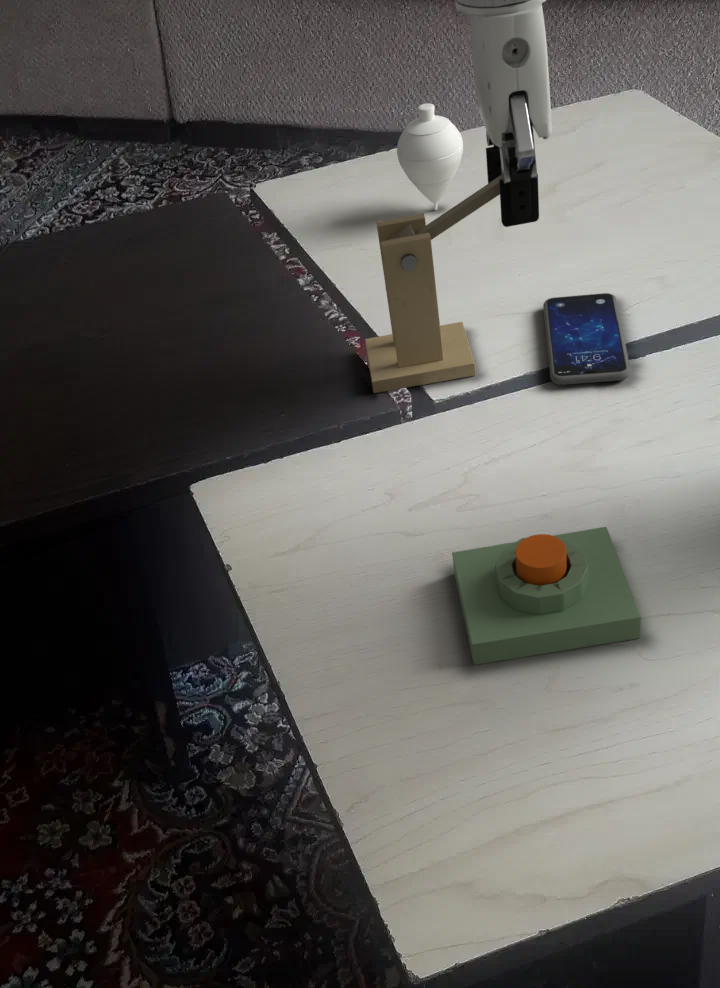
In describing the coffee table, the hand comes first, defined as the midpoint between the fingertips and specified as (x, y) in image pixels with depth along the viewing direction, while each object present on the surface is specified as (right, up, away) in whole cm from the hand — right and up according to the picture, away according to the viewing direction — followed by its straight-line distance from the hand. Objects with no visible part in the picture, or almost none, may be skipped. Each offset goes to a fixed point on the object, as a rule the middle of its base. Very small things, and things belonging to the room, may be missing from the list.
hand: (513, 204), depth 95 cm
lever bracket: (-8, -11, +11) cm, 17 cm away
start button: (0, -34, -17) cm, 38 cm away
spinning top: (-4, +13, +34) cm, 36 cm away
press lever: (-5, -2, +1) cm, 5 cm away
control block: (0, -36, -15) cm, 39 cm away
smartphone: (+8, -10, +9) cm, 16 cm away
